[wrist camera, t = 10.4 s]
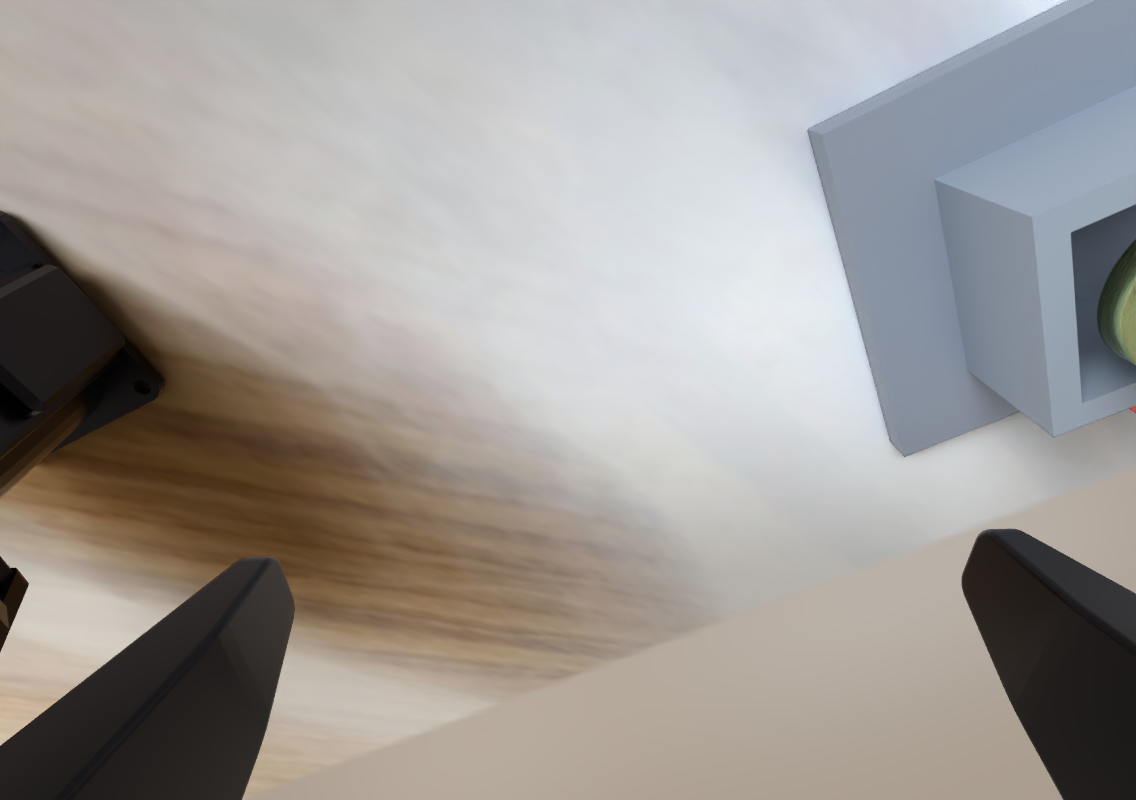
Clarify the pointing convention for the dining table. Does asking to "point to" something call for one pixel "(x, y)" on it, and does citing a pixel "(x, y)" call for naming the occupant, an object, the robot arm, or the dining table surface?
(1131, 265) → the cylinder
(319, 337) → the dining table surface
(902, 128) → the jack base
